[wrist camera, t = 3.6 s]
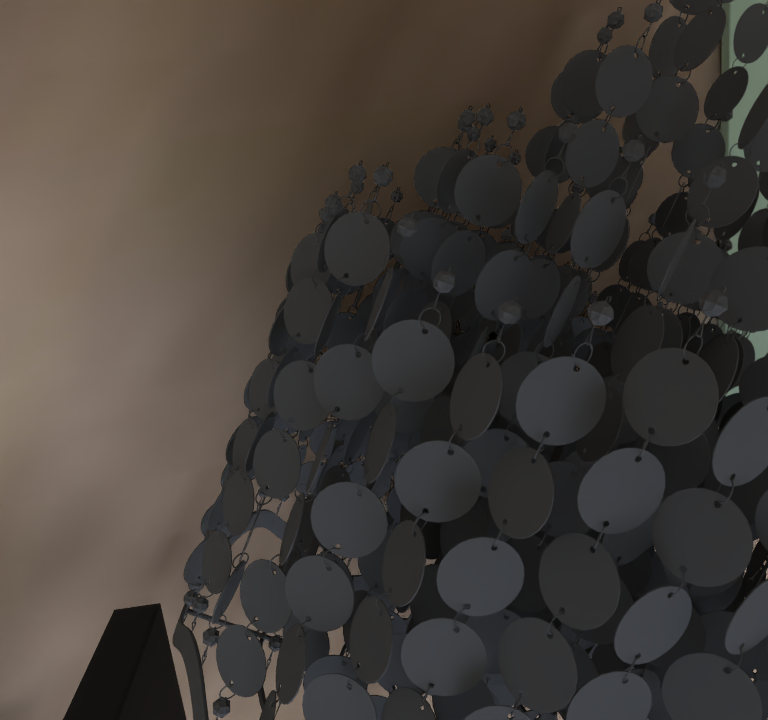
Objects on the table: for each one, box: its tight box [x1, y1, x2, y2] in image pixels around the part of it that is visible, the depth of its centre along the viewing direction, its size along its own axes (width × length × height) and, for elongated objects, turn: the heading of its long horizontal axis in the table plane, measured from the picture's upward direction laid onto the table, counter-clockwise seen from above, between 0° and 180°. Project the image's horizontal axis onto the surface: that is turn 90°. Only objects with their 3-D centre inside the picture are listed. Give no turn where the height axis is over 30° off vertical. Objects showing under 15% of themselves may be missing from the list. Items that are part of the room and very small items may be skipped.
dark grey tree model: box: [173, 0, 768, 720], centre depth 11 cm, size 9×22×9 cm, turn 159°
